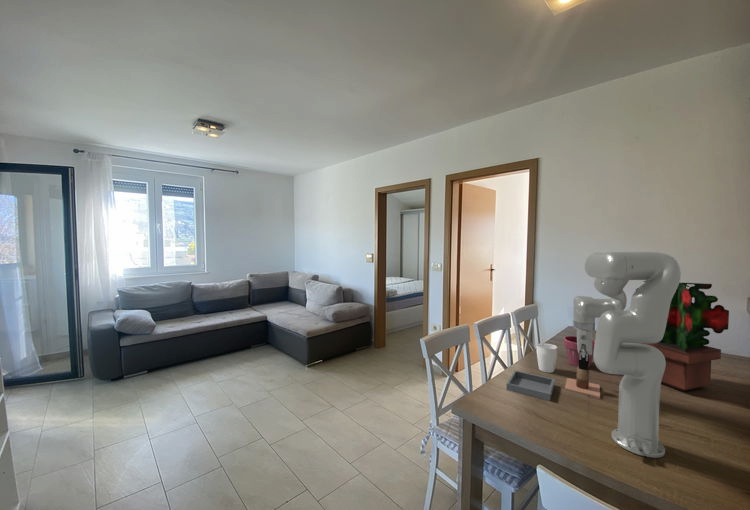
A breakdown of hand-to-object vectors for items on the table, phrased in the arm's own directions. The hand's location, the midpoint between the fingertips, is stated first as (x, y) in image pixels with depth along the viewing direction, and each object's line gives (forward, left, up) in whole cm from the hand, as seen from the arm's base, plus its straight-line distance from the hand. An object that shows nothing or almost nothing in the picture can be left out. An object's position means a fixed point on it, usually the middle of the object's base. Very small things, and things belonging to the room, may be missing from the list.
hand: (583, 365), depth 129 cm
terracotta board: (+1, 0, -10) cm, 10 cm away
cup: (+14, +15, -11) cm, 23 cm away
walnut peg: (+1, 0, -9) cm, 9 cm away
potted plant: (+30, -33, -11) cm, 45 cm away
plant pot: (+31, +2, -11) cm, 33 cm away
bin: (-12, +18, -10) cm, 24 cm away
